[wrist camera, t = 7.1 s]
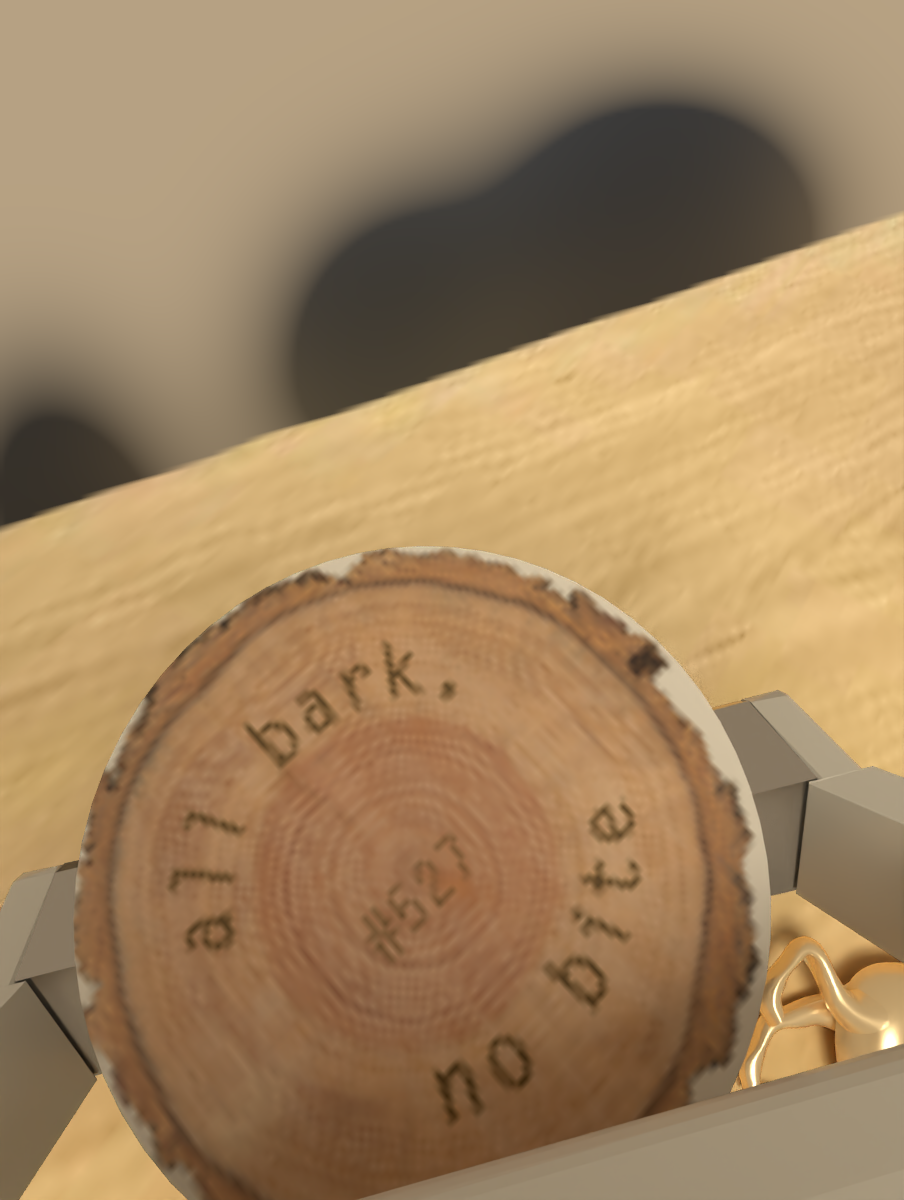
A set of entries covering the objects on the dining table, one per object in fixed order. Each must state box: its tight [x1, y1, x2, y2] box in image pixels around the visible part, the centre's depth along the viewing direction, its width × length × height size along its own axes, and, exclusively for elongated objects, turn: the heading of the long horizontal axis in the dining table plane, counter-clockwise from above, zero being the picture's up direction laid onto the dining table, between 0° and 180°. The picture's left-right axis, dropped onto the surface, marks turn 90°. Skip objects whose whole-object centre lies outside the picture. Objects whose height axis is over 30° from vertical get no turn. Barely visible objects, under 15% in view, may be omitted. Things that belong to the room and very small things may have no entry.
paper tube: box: [73, 546, 771, 1200], centre depth 19 cm, size 7×7×25 cm
